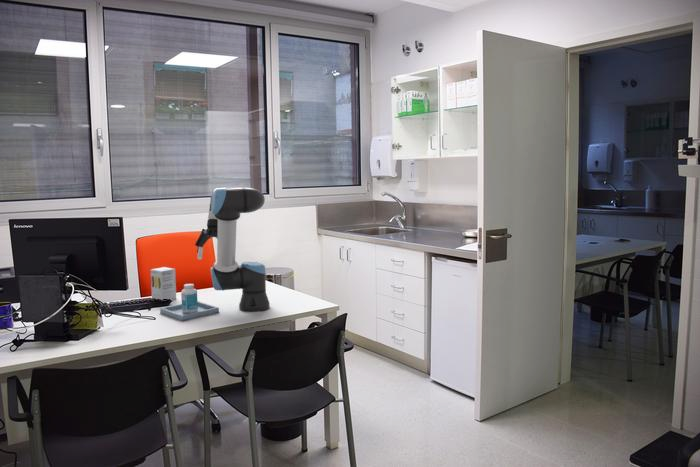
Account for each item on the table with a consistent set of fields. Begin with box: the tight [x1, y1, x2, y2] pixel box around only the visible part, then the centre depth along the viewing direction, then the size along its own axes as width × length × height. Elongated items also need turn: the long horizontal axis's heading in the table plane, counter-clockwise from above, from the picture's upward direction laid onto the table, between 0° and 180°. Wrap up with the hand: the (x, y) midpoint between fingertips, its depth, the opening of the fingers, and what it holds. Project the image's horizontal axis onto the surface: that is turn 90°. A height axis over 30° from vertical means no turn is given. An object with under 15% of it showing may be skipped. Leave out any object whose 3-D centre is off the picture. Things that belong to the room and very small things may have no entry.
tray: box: [159, 300, 220, 322], centre depth 264 cm, size 20×20×2 cm
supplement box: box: [150, 266, 177, 301], centre depth 289 cm, size 10×9×17 cm
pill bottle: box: [180, 283, 198, 313], centre depth 263 cm, size 8×7×14 cm
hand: (209, 258), depth 284 cm, fingers open, 13 cm apart
